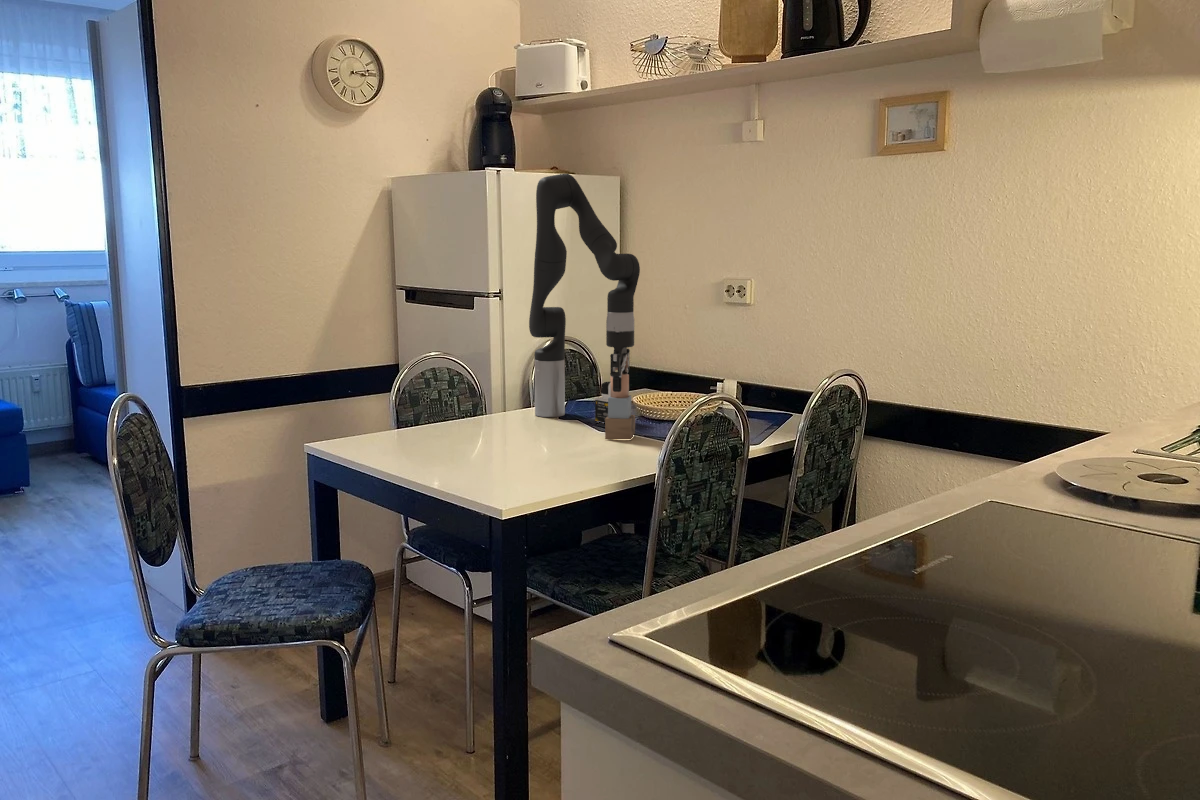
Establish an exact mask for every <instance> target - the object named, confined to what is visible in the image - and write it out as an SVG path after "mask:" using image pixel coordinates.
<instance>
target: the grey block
mask: <svg viewBox="0 0 1200 800" xmlns="http://www.w3.org/2000/svg"><path fill="white" fill-rule="evenodd" d="M631 415H632V395H630V394H629V397H627V398H612V397H609V398H608V418H619V419H628V418H629V417H630V416H631Z"/></svg>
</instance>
